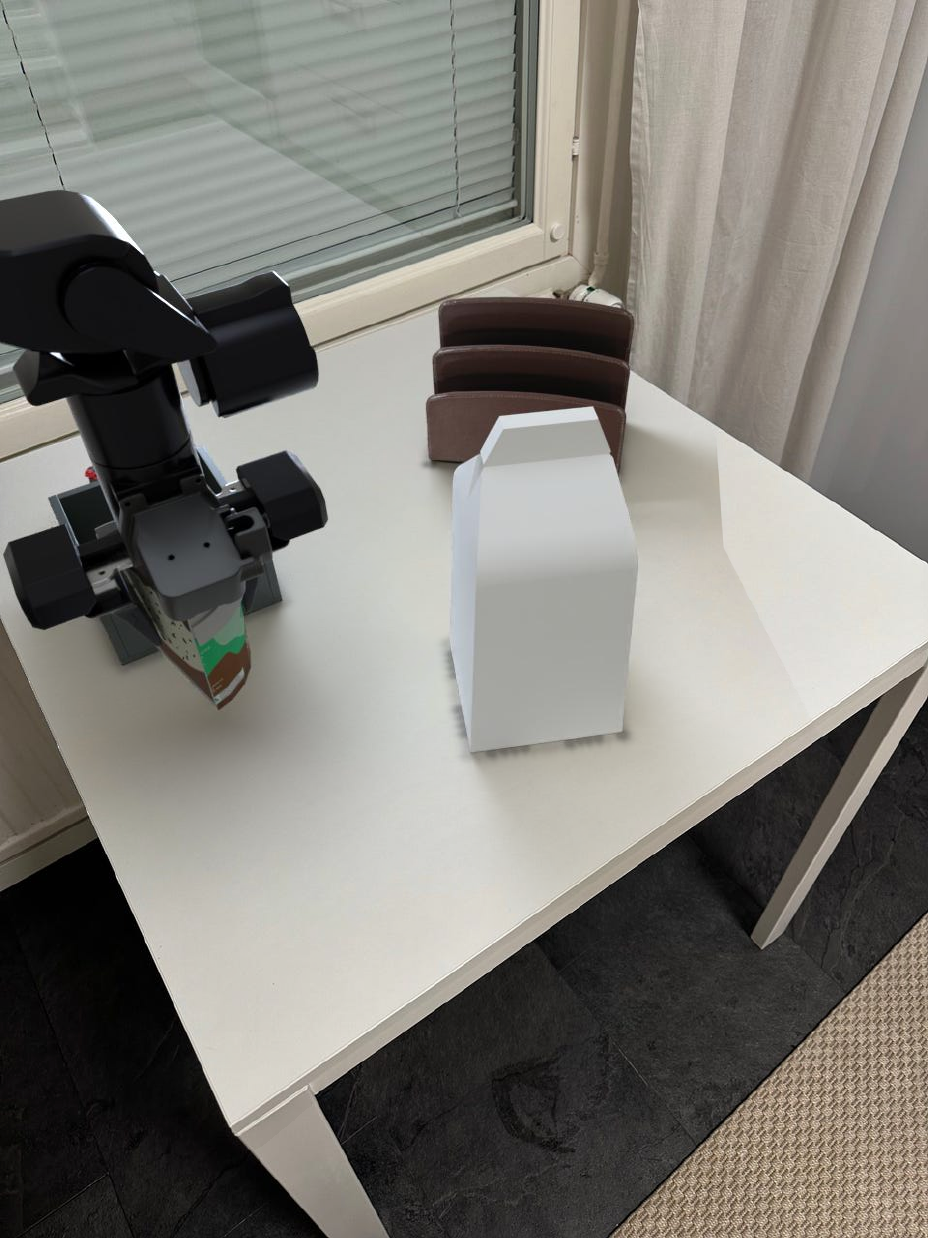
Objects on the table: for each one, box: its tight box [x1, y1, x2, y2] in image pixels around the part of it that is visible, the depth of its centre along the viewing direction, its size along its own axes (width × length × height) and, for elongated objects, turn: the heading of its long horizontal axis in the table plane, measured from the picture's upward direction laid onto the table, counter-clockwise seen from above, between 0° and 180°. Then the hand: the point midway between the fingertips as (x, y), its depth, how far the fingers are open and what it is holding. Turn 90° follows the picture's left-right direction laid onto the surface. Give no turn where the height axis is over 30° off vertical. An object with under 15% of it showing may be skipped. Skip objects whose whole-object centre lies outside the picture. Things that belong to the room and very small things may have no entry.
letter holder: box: [425, 296, 635, 475], centre depth 90 cm, size 10×20×14 cm, turn 82°
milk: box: [449, 406, 639, 754], centre depth 63 cm, size 12×12×26 cm
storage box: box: [47, 445, 283, 666], centre depth 80 cm, size 15×17×7 cm
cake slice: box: [95, 520, 252, 712], centre depth 60 cm, size 12×6×10 cm, turn 44°
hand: (202, 624), depth 62 cm, fingers closed on cake slice, 6 cm apart
